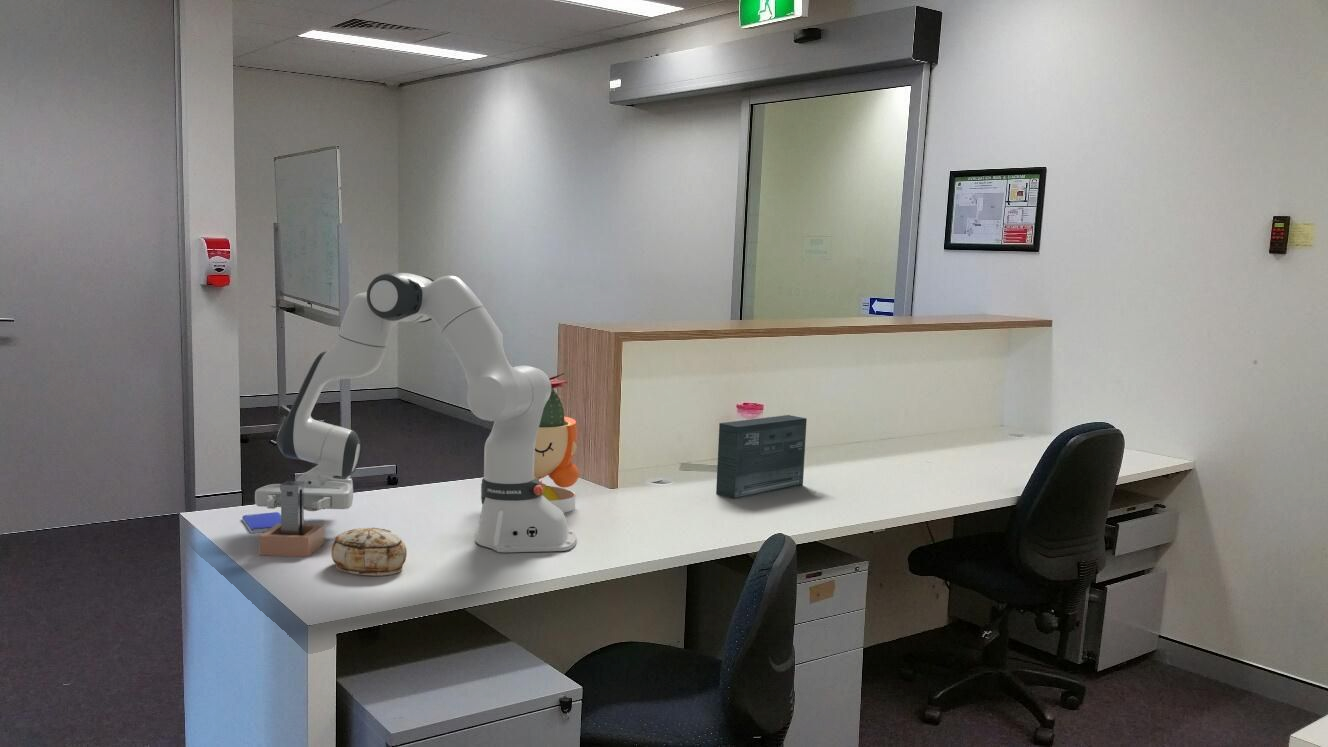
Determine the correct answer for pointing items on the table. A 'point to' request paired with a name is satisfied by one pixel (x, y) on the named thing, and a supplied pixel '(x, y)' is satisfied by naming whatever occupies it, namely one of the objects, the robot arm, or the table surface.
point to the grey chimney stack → (292, 508)
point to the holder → (291, 541)
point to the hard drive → (261, 521)
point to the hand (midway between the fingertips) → (293, 505)
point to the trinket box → (369, 552)
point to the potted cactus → (556, 451)
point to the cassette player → (760, 455)
